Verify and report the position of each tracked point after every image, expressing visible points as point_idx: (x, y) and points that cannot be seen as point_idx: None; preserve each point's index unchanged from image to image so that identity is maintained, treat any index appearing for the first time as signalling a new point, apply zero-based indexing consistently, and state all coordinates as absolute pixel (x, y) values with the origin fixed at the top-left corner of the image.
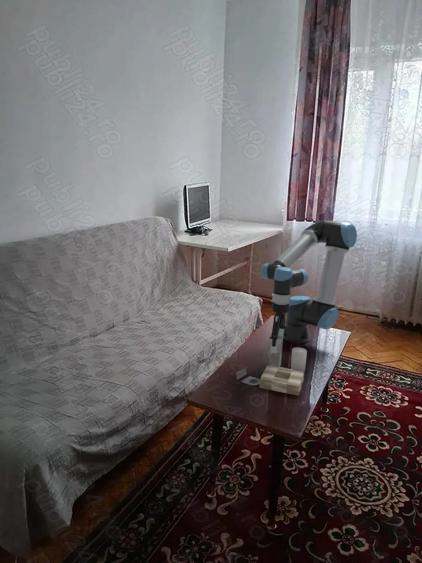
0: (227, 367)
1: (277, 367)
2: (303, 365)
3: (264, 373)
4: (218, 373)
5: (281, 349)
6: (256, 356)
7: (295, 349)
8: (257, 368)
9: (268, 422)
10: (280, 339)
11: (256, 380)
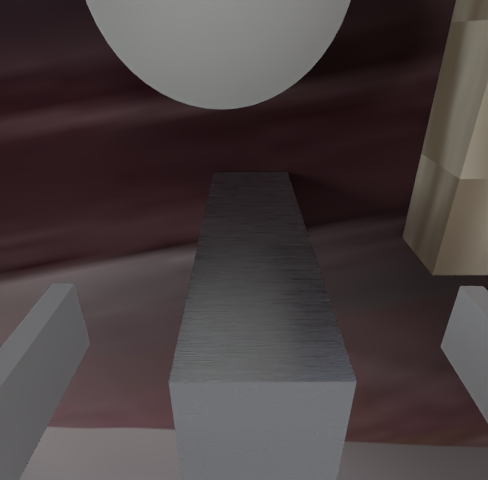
0: (383, 428)
1: (476, 188)
2: None
3: None
4: (464, 442)
5: (246, 247)
6: (166, 345)
7: (208, 51)
8: (346, 304)
9: None
10: (353, 393)
11: None
